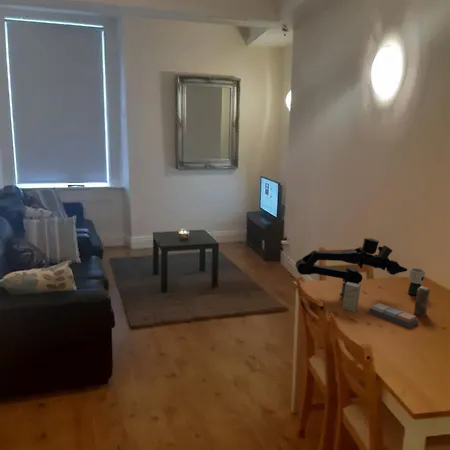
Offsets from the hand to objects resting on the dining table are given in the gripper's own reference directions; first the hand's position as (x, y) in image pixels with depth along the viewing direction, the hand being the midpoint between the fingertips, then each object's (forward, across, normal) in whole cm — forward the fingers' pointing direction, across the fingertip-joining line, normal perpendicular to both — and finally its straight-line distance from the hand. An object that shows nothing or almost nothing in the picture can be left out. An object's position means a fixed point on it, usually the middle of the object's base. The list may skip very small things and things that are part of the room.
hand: (403, 267), depth 236 cm
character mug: (+13, +8, +13) cm, 20 cm away
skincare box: (-26, -14, +22) cm, 37 cm away
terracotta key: (-6, -29, +18) cm, 34 cm away
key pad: (-9, -24, +20) cm, 32 cm away
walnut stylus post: (+5, -18, +17) cm, 25 cm away
